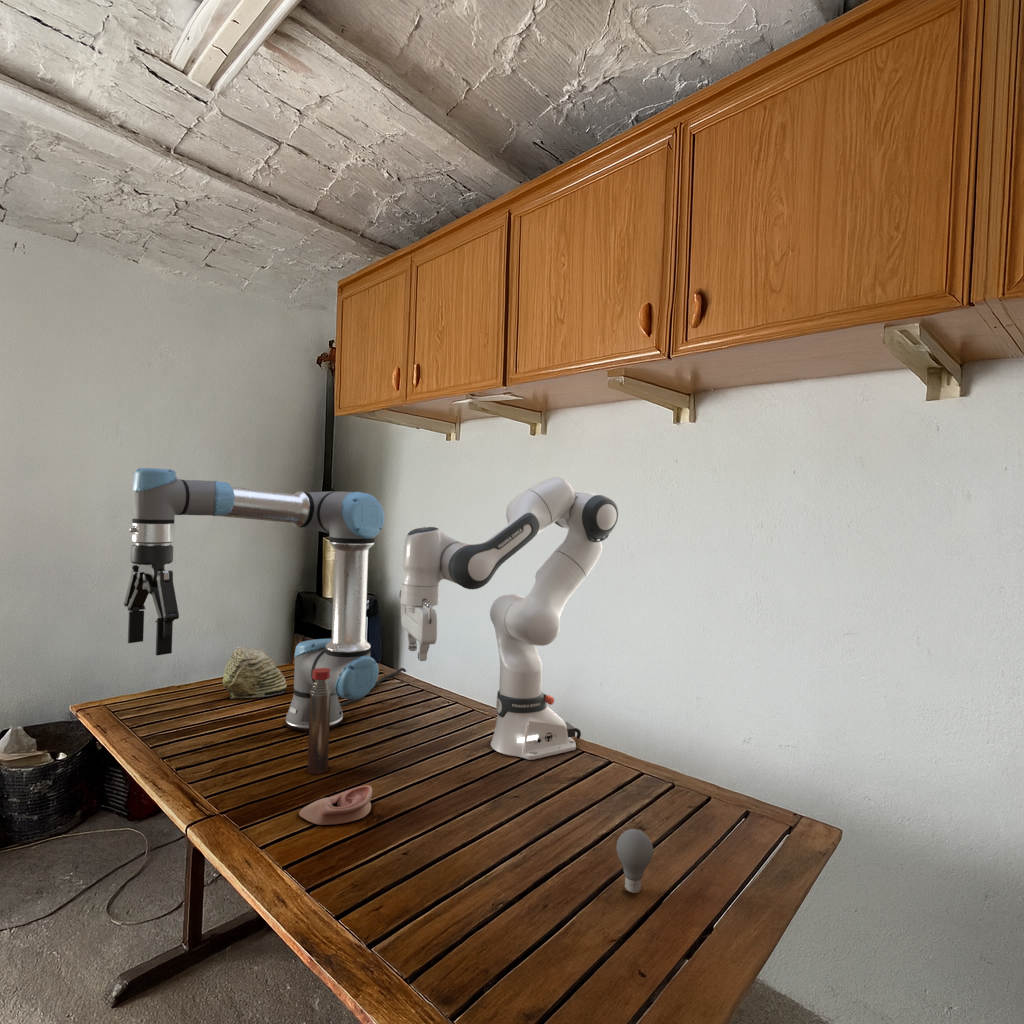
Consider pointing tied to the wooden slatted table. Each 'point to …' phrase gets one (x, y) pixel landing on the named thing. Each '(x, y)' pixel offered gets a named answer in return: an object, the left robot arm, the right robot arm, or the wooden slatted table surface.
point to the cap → (321, 674)
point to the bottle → (319, 727)
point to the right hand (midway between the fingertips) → (417, 655)
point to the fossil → (252, 674)
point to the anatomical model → (339, 807)
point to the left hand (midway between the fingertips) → (149, 648)
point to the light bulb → (634, 857)
